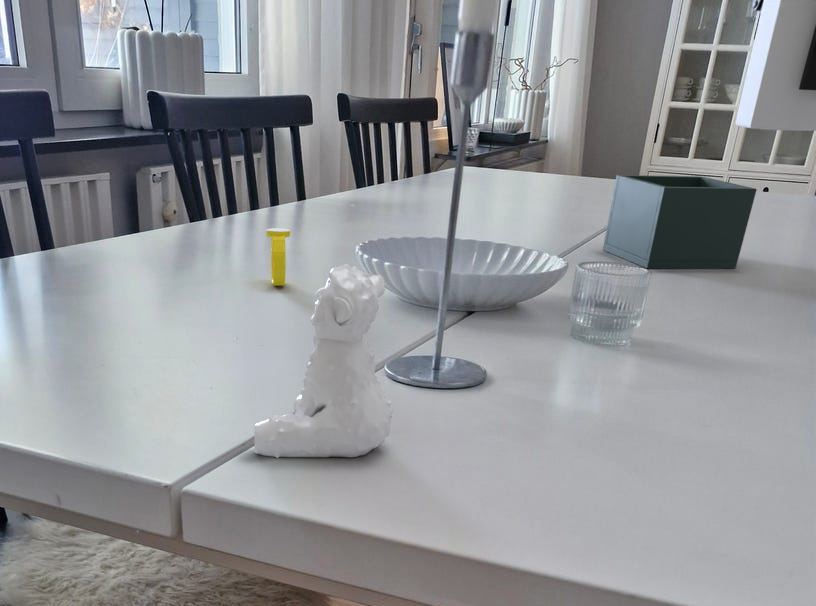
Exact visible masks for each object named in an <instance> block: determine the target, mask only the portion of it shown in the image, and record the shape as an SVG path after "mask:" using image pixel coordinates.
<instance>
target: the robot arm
mask: <svg viewBox="0 0 816 606" xmlns="http://www.w3.org/2000/svg"><path fill="white" fill-rule="evenodd" d="M763 2H764V0H753V1H752V5H751V10H752V11H755V12H758V13H759V16H760V15H761V10H762V6H763ZM799 90H816V26H815V29H814V33H813V37H812V41H811V45H810V48H809V52H808V56H807V60H806V64H805V67H804V71H803V75H802V79H801V83H800V86H799Z"/></svg>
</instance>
